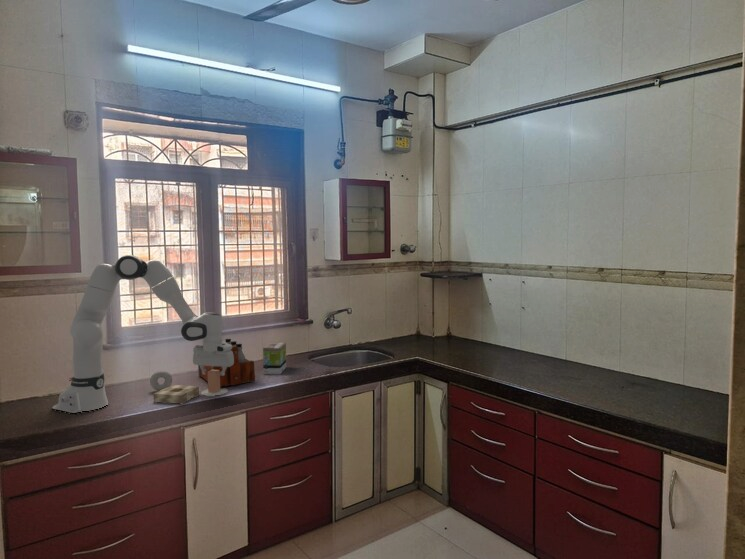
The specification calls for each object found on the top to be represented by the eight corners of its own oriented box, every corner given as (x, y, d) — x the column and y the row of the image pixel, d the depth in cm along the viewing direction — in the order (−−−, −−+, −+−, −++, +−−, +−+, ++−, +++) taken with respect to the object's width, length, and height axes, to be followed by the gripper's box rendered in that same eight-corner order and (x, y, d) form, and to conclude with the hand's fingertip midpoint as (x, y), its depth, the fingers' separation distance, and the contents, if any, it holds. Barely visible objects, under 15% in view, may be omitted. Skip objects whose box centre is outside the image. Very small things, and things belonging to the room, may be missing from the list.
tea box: (281, 374, 271) (280, 347, 270) (262, 374, 271) (262, 347, 270) (286, 367, 286) (286, 342, 285) (269, 367, 286) (268, 342, 285)
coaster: (196, 395, 235) (196, 394, 235) (210, 388, 247) (210, 386, 247) (219, 397, 232) (218, 396, 232) (232, 389, 244) (232, 388, 244)
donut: (172, 388, 247) (172, 368, 246) (172, 390, 243) (171, 370, 242) (150, 390, 243) (149, 370, 243) (150, 392, 240) (149, 372, 239)
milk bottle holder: (215, 389, 242) (214, 349, 241) (196, 374, 271) (195, 339, 270) (257, 382, 254) (256, 344, 253) (235, 369, 283) (234, 335, 282)
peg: (208, 392, 238) (207, 371, 237) (212, 389, 242) (212, 369, 241) (215, 392, 237) (215, 372, 236) (220, 390, 241) (219, 369, 240)
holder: (153, 402, 226) (153, 393, 226) (173, 393, 239) (173, 384, 239) (180, 404, 222) (180, 395, 222) (199, 395, 236) (198, 386, 236)
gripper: (189, 346, 237) (190, 375, 238) (228, 348, 232) (229, 377, 233) (197, 343, 243) (198, 371, 244) (235, 345, 238) (236, 374, 239)
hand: (213, 374), depth 239 cm, fingers open, 8 cm apart
